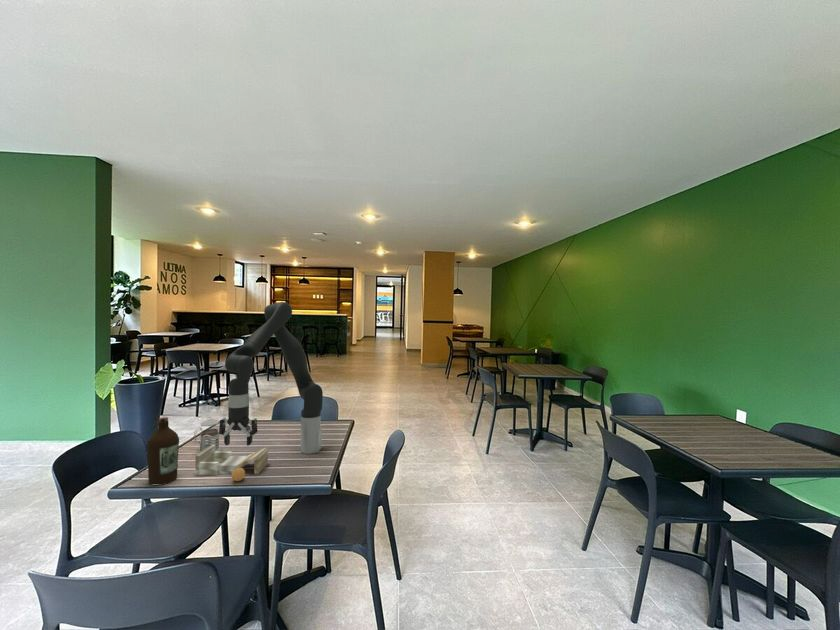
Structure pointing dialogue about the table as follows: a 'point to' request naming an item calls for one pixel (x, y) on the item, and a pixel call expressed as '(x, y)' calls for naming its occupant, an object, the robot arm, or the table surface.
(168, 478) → the olive oil
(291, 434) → the table surface
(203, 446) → the french press
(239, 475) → the ball
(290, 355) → the robot arm
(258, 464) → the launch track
